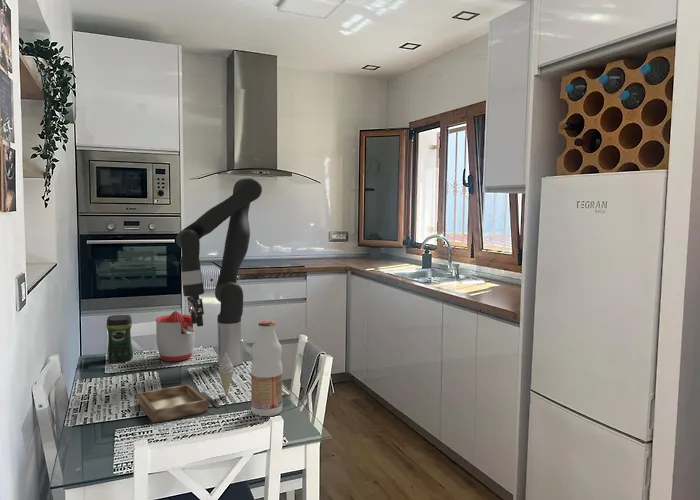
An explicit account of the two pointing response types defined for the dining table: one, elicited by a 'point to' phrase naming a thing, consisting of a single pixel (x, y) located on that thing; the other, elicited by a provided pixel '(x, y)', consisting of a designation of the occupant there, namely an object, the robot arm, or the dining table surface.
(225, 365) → the ice cream cone
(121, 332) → the coffee jar
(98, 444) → the dining table surface
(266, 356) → the fruit juice
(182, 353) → the citrus juicer
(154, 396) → the tray
